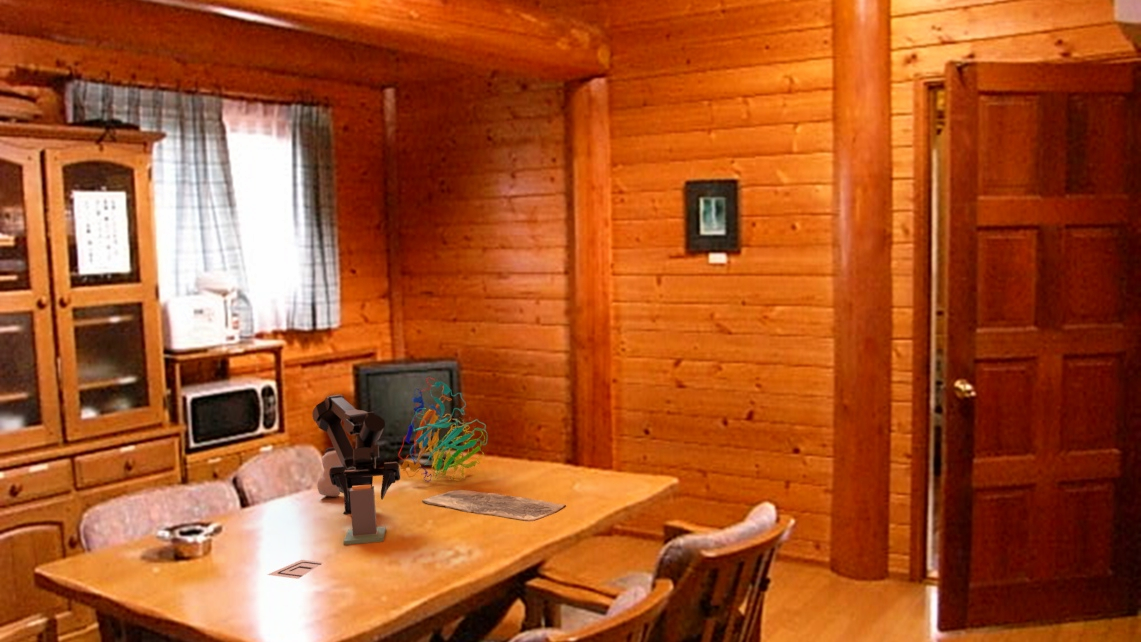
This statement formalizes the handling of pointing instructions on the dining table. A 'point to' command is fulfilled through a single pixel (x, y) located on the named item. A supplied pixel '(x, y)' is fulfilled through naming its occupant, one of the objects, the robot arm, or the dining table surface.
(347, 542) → the board
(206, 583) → the dining table surface
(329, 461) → the figurine
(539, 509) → the relief sculpture
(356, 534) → the block
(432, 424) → the protein model
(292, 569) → the sign
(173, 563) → the dining table surface
